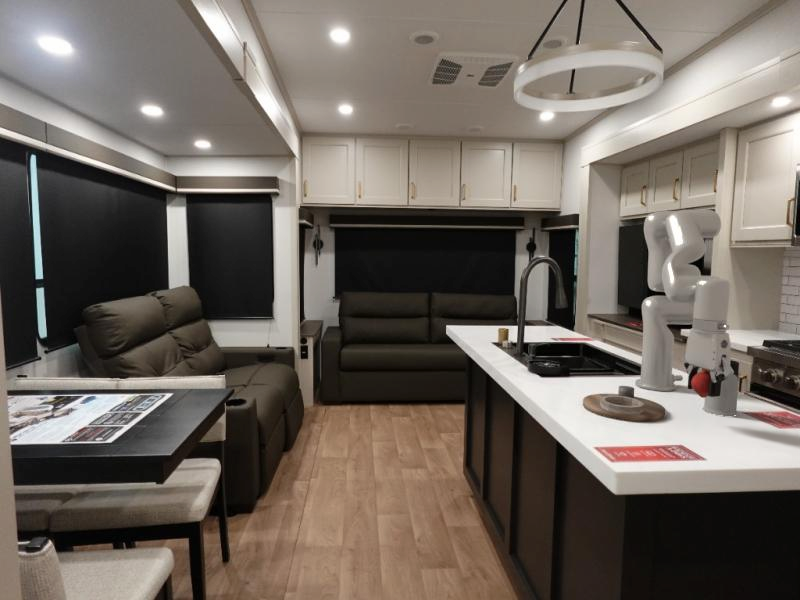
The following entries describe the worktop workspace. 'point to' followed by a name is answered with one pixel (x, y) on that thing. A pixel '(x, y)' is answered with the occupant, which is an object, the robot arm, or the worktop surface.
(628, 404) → the carrier plate
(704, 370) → the red rounded piece
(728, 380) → the glass holder
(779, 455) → the worktop surface
